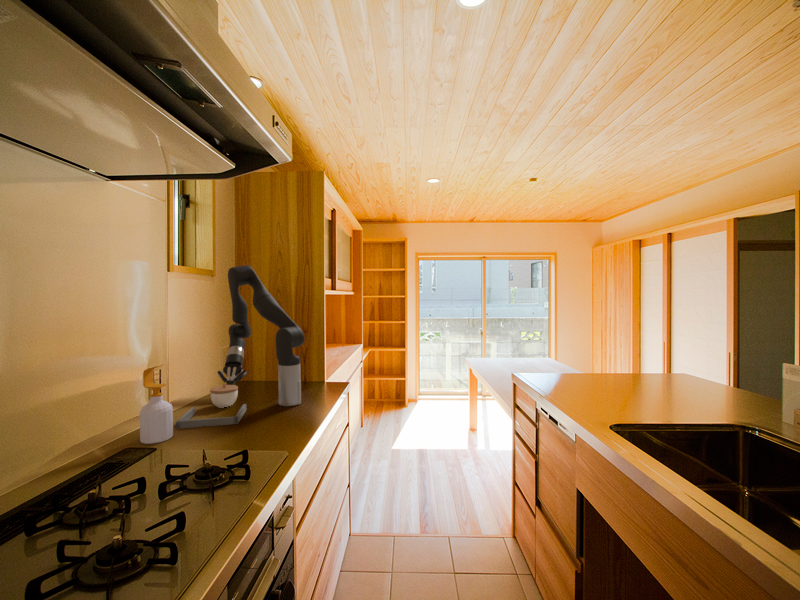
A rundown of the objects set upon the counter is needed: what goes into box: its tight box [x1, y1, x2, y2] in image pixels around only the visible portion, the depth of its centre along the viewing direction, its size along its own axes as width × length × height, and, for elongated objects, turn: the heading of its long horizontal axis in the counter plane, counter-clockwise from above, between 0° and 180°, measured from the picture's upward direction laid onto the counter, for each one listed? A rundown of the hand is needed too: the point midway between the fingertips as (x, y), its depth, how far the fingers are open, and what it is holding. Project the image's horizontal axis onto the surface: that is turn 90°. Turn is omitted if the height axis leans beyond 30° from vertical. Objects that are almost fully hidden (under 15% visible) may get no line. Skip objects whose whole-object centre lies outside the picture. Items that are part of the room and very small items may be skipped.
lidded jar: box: [209, 383, 239, 409], centre depth 155 cm, size 11×11×9 cm
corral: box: [175, 403, 247, 430], centre depth 139 cm, size 20×17×2 cm
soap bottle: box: [139, 363, 174, 445], centre depth 119 cm, size 9×9×25 cm
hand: (229, 389), depth 163 cm, fingers closed
